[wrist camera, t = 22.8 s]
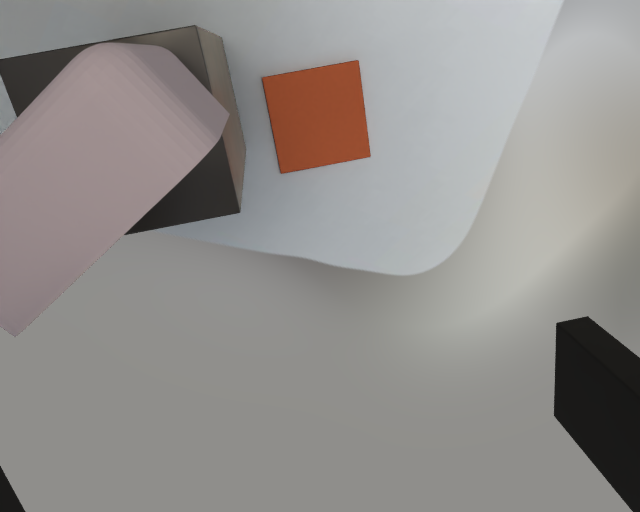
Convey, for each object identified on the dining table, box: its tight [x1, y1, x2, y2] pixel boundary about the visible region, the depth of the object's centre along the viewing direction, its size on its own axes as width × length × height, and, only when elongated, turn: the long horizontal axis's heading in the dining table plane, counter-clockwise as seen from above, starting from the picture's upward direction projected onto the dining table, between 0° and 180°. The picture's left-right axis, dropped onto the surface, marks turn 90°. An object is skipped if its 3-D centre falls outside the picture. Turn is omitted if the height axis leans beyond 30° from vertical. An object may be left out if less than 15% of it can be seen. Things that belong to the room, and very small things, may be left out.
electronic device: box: [0, 42, 230, 336], centre depth 20 cm, size 10×5×10 cm, turn 131°
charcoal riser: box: [0, 25, 246, 235], centre depth 33 cm, size 9×9×19 cm
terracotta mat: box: [262, 60, 370, 174], centre depth 43 cm, size 8×8×1 cm
